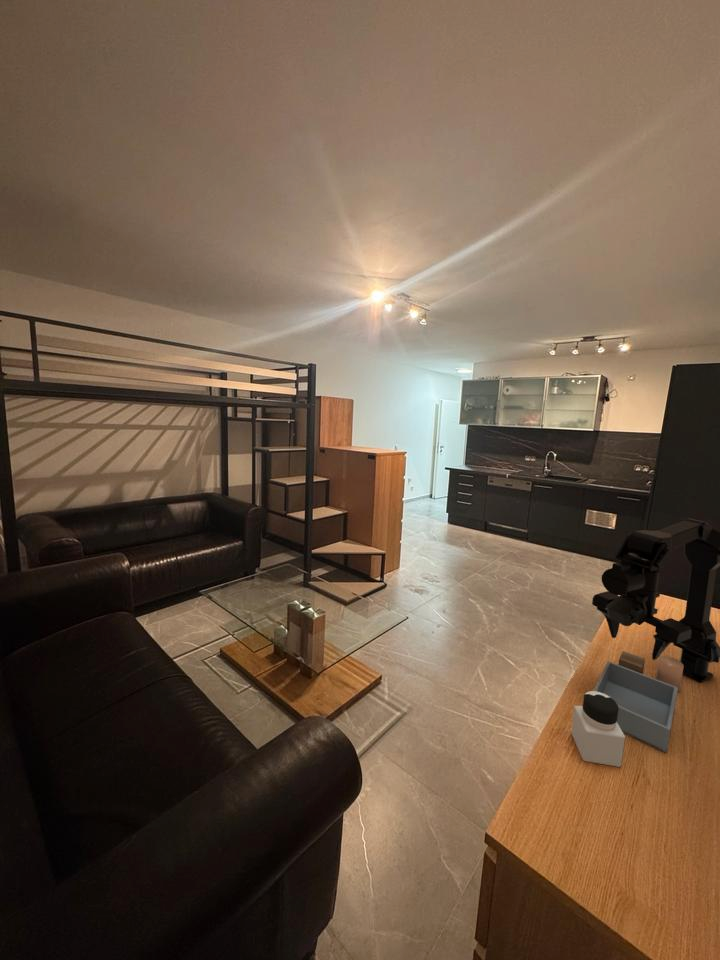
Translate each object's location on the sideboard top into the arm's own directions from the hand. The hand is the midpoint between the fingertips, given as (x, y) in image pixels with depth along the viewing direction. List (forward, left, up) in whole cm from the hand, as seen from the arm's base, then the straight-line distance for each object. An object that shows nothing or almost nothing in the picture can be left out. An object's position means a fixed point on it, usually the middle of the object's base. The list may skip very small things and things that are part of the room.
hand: (633, 647), depth 90 cm
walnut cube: (-11, -6, -15) cm, 20 cm away
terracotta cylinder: (-16, 0, -15) cm, 22 cm away
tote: (+2, +2, -15) cm, 15 cm away
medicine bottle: (+20, +6, -15) cm, 25 cm away
